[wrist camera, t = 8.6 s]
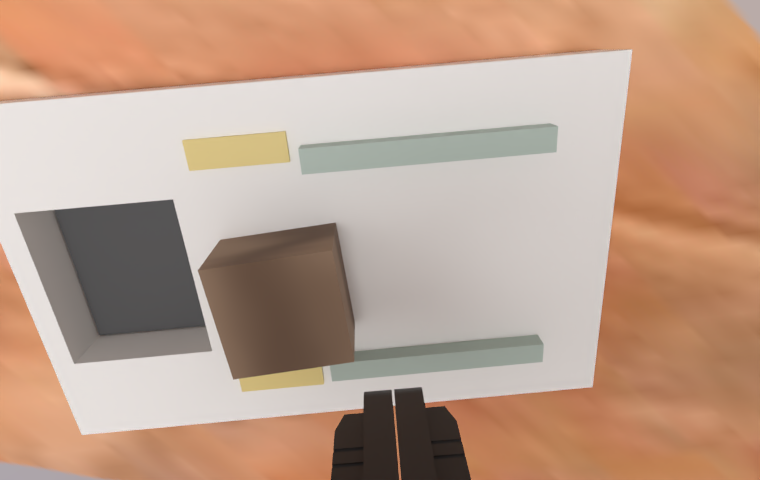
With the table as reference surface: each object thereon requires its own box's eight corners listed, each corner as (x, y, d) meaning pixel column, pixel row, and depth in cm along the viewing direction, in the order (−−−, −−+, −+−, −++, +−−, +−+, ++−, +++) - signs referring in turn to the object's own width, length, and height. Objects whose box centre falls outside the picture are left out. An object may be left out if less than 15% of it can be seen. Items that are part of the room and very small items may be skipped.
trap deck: (600, 49, 20) (644, 49, 17) (571, 357, 26) (600, 398, 23) (-8, 101, 20) (-75, 111, 17) (106, 400, 26) (72, 447, 23)
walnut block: (335, 222, 20) (332, 250, 17) (354, 322, 22) (354, 362, 19) (220, 239, 20) (197, 270, 17) (249, 337, 22) (233, 379, 19)
